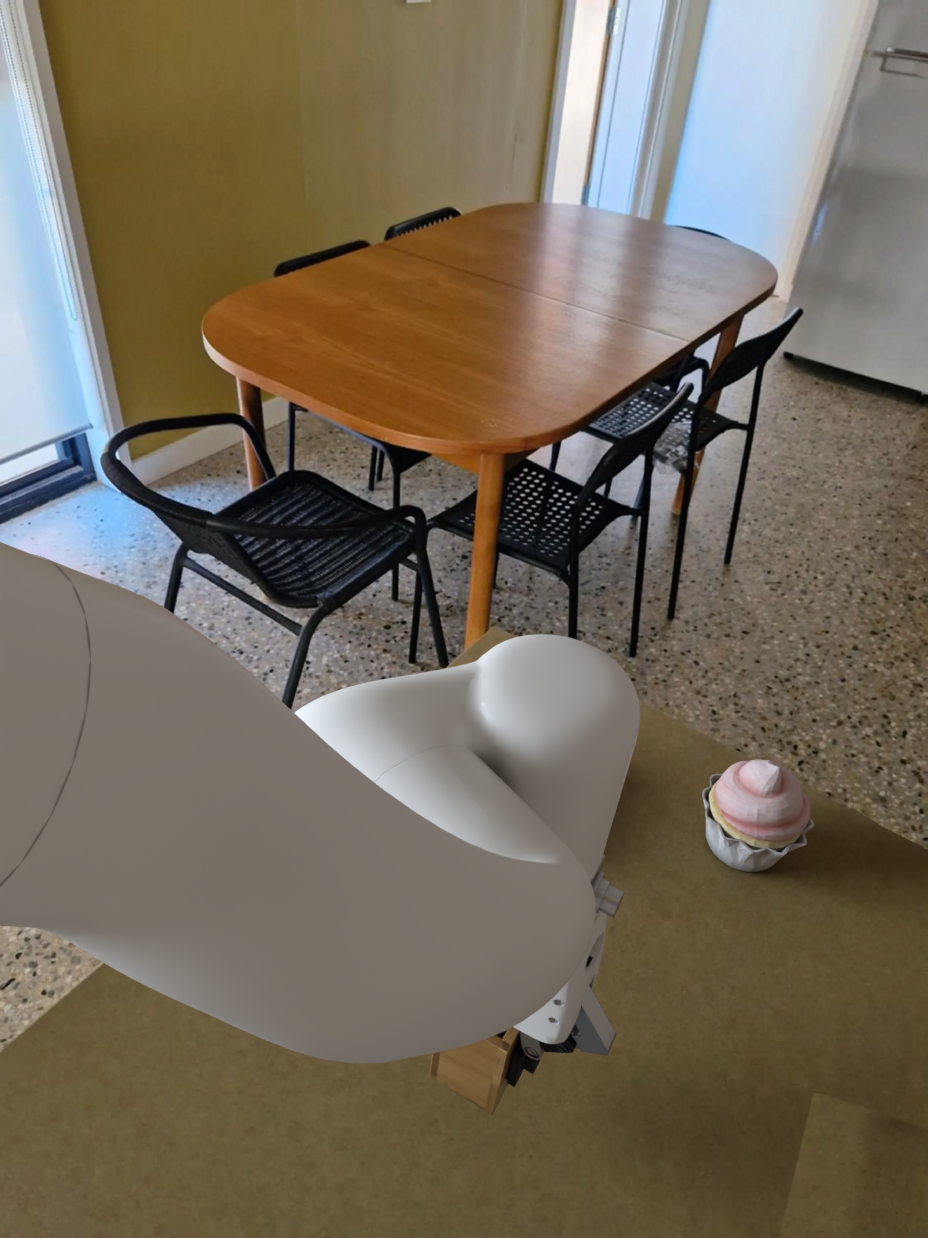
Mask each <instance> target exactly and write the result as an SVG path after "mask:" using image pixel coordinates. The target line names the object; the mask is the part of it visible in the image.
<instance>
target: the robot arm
mask: <svg viewBox="0 0 928 1238" xmlns="http://www.w3.org/2000/svg"><path fill="white" fill-rule="evenodd" d="M640 725H641V707H640V701H639V696H638V692H637V690H636V687H635V684H634V683H633V681H632V680H631V678H630V677H629V675H628V674H627V672H626V670H625V669H624V668H623V667H622V666H621V665H620V664H619V663H618V662H617V661H616V660H615V659H614V658H613V657H611V656H610V655H609V654H608V653H606V652H604V651H603V650H601V649H599V648H598V647H596V646H594V645H592V644H589V643H587V642H584V641H582V640H579V639H576V638H572V637H569V636H564V635H558V634H545V633H536V634H526V635H522V636H521V635H520V636H514V637H511V638H510V639H506V640H504V641H502V642H500V643H498V644H496V645H494V646H493V647H491V648H490V649H489V650H488V651H486V652H485V653H484V654H483V655H481V656H480V657H479V658H478V659H476V660H475V661H473V662H469V663H464V664H459V665H456V666H455V665H454V666H450V667H447V668H441V669H437V670H429V671H424V672H419V673H412V674H407V675H401V676H395V677H389V678H388V677H387V678H384V679H383V678H382V679H377V680H371V681H366V682H363V683H359V684H356V685H355V684H354V685H351V686H347V687H344V688H341V689H338V690H335V691H332V692H330V693H327V694H324V695H322V696H319V697H318V698H315V699H314V700H312V701H310V702H308V703H307V704H305V705H304V706H301V707H300V708H298V709H297V710H296V711H293V710H292V709H291V708H290V707H289V706H287V704H285V702H283V701H282V699H280V698H279V697H278V696H277V695H276V694H275V693H274V692H273V691H271V690H270V689H269V687H268V686H267V685H265V684H264V683H263V682H262V681H261V680H260V679H259V678H257V677H256V676H255V675H254V674H253V673H251V672H250V671H249V670H248V669H247V667H245V666H244V665H243V664H241V663H240V662H239V661H238V660H236V659H235V658H234V657H233V656H231V654H229V653H227V652H226V651H225V650H224V649H222V647H220V646H218V644H216V643H215V642H214V641H213V640H211V639H210V638H208V637H207V636H205V635H204V634H203V633H201V632H200V631H199V630H197V629H196V628H194V627H193V626H192V625H190V624H189V623H187V622H186V621H184V620H183V619H181V618H180V617H179V616H177V615H176V614H174V613H173V612H171V611H170V610H169V609H168V608H165V607H163V606H162V605H161V604H159V603H158V602H155V601H154V600H152V599H150V598H148V597H146V596H144V595H142V594H139V593H137V592H135V591H132V590H129V589H127V588H126V587H125V588H124V587H122V586H120V585H117V584H115V583H112V582H109V581H106V580H104V579H100V578H97V577H95V576H92V575H89V574H87V573H83V572H82V571H79V570H75V569H74V568H71V567H69V566H67V565H64V564H62V563H59V562H56V561H54V560H52V559H50V558H46V557H44V556H41V555H38V554H34V553H29V552H27V551H24V550H22V549H19V548H17V547H14V546H12V545H10V544H7V543H4V542H1V541H0V927H15V928H16V927H18V928H30V929H33V928H34V929H37V930H42V931H45V932H49V933H51V934H53V935H55V936H58V937H59V938H61V939H63V940H65V941H67V942H69V943H71V944H72V945H74V946H76V947H77V948H78V949H80V950H82V951H84V952H85V953H87V954H88V955H90V956H91V957H93V958H95V959H97V960H99V961H100V962H102V963H104V965H106V966H108V967H110V968H112V969H113V970H115V971H117V972H119V973H121V974H123V975H124V976H126V977H128V978H130V979H132V980H133V981H135V982H137V983H140V984H141V985H143V986H146V987H147V988H150V989H152V990H153V991H156V992H158V993H160V994H161V995H163V996H166V997H167V998H171V999H173V1000H175V1001H177V1002H180V1003H182V1004H184V1005H185V1006H188V1007H190V1008H193V1009H195V1010H197V1011H199V1012H202V1013H204V1014H207V1015H208V1016H211V1017H213V1018H215V1019H217V1020H220V1021H222V1022H224V1023H226V1024H228V1025H230V1026H232V1027H234V1028H236V1029H239V1030H241V1031H244V1032H246V1033H248V1034H250V1035H252V1036H255V1037H256V1038H259V1039H262V1040H264V1041H267V1042H269V1043H271V1044H274V1045H276V1046H280V1047H282V1048H284V1049H287V1050H290V1051H292V1052H296V1053H299V1054H303V1055H306V1056H309V1057H313V1058H317V1059H321V1060H324V1061H331V1062H339V1063H344V1064H345V1063H346V1064H355V1065H356V1064H359V1065H360V1064H361V1065H362V1064H384V1063H390V1062H395V1061H402V1060H406V1059H412V1058H416V1057H420V1056H421V1057H422V1056H427V1055H432V1053H437V1052H443V1051H448V1050H452V1049H456V1048H460V1047H463V1046H466V1045H470V1044H473V1043H476V1042H479V1041H482V1040H484V1039H487V1038H489V1037H492V1036H494V1035H496V1034H499V1033H501V1032H504V1031H506V1030H508V1029H510V1028H511V1027H514V1028H516V1029H518V1030H519V1033H520V1037H519V1039H518V1041H517V1043H516V1045H515V1047H514V1049H513V1051H512V1054H511V1058H510V1062H509V1066H508V1070H507V1074H506V1080H507V1083H508V1085H510V1086H511V1087H513V1088H516V1086H517V1083H518V1082H519V1080H520V1079H521V1076H522V1073H523V1072H524V1070H525V1071H526V1072H528V1073H530V1074H531V1075H534V1074H535V1072H536V1070H537V1068H538V1067H539V1064H540V1062H541V1060H542V1058H543V1055H544V1053H555V1054H557V1053H558V1054H572V1053H574V1051H575V1049H577V1050H579V1051H580V1052H581V1053H587V1054H594V1055H599V1056H608V1055H609V1054H610V1051H611V1049H612V1046H613V1044H614V1042H615V1039H616V1037H617V1031H616V1030H615V1028H614V1026H613V1024H612V1023H611V1020H610V1019H609V1017H608V1015H607V1014H606V1012H605V1010H604V1008H603V1007H602V1005H601V1003H600V1001H599V999H598V998H597V996H596V994H595V993H594V991H593V989H594V986H595V983H596V980H597V977H598V973H599V971H600V966H601V962H602V958H603V953H604V948H605V941H606V936H607V925H608V917H610V918H612V919H613V918H615V916H616V914H617V913H618V911H619V908H620V906H621V903H622V901H623V898H624V896H625V891H624V890H622V889H619V888H618V887H615V886H614V885H612V882H611V881H610V880H608V879H606V874H605V872H603V871H602V869H603V865H604V862H605V859H606V855H605V854H604V852H605V849H606V845H607V844H608V838H609V836H610V832H611V828H612V825H613V822H614V818H615V815H616V812H617V808H618V806H619V802H620V799H621V795H622V792H623V788H624V786H625V782H626V778H627V775H628V771H629V768H630V765H631V761H632V757H633V754H634V750H635V747H636V744H637V740H638V735H639V731H640Z"/></svg>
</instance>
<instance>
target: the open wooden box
mask: <svg viewBox="0 0 928 1238" xmlns="http://www.w3.org/2000/svg"><path fill="white" fill-rule="evenodd" d="M519 1037H520V1033H519V1030H518V1029H516V1028H514V1027H511V1028H510V1029H508V1030H506V1031H504V1032H501V1033H499V1034H496V1035H494V1036H492V1037H489V1038H487V1039H484V1040H482V1041H479V1042H476V1043H473V1044H470V1045H466V1046H463V1047H460V1048H456V1049H452V1050H448V1051H443V1052H437V1053H432V1054H431V1062H430V1068H429V1070H430V1071H429V1077H430V1078H431V1079H433V1080H435V1081H436V1082H438V1083H440V1084H441V1085H443V1086H445V1088H448V1089H449V1090H451V1091H452V1092H454V1093H456V1094H458V1095H459V1096H460V1097H462V1098H463V1099H465V1100H467V1101H468V1102H470V1103H472V1104H474V1105H475V1106H477V1107H478V1108H480V1109H482V1110H483V1111H484V1112H486V1113H488V1114H490V1115H491V1116H493V1115H494V1113H495V1111H496V1109H497V1108H498V1106H499V1104H500V1101H501V1099H502V1098H503V1096H504V1095H505V1092H506V1090H507V1087H508V1086H509V1084H508V1083H507V1080H506V1074H507V1070H508V1066H509V1062H510V1058H511V1054H512V1051H513V1049H514V1047H515V1045H516V1043H517V1041H518V1039H519Z"/></svg>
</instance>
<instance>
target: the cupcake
mask: <svg viewBox="0 0 928 1238" xmlns="http://www.w3.org/2000/svg"><path fill="white" fill-rule="evenodd" d="M701 795H702V796H701V797H702V801H703V806H704V809H705V810H704V817H705V838H706V842H707V844H708V846H709V848H710V850H711V852H712V853H713V855H714V856H715V857H716V858H718V859H719V860H720V861H721V862H722V863H723V864H725V865H727V866H728V867H730V868H732V869H735V870H738V871H741V872H746V873H758V872H762V871H765V870H769V869H770V868H772V867H773V866H774V865H776V863H778V861H780V860H781V859H782V858H783V857H785V856H786V855H787V854H788V853H789V852H792V851H795V850H796V849H799V848H802V847H805V846H807V844H808V841H807V836H806V833H807V832H808V831H810V830H811V829H812V828H814V826H815V822H814V821H813V820H812V819H811V817H810V816H811V803H810V801H809V798H808V796H807V794H806V793H805V791H804V790H803V789H802V785H801V783H800V781H799V779H798V778H797V777H796V776H795V775H794V774H793V773H792V772H791V771H790V770H789V769H787V767H785V766H784V765H782V764H781V763H780V762H778V761H776V760H773V759H760V758H759V759H758V758H757V759H756V758H755V759H752V760H740V761H737V762H735V763H733V764H731V765H730V766H728V768H727V769H726V770H725V771H724V772H723V773H714V774H711V775H710V777H709V786H707V787H705V788H703V789H702V792H701Z"/></svg>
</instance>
